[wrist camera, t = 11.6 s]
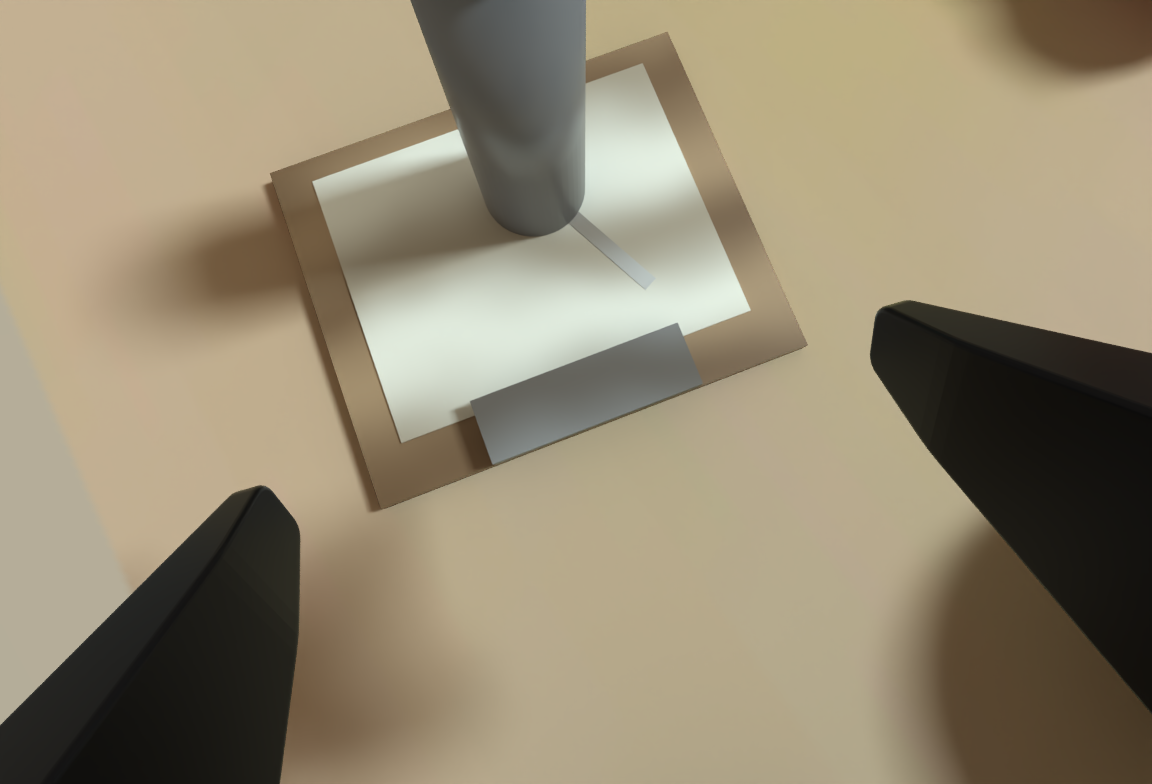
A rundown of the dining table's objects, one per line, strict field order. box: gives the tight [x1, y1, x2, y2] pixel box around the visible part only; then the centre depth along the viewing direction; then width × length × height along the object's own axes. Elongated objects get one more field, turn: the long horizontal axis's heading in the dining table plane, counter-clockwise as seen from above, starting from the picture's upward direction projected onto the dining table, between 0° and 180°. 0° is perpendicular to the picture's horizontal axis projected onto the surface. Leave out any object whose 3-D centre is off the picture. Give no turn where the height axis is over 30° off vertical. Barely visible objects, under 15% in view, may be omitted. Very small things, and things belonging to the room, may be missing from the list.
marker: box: [411, 0, 586, 237], centre depth 16 cm, size 4×4×13 cm
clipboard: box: [270, 32, 807, 509], centre depth 22 cm, size 14×17×2 cm
